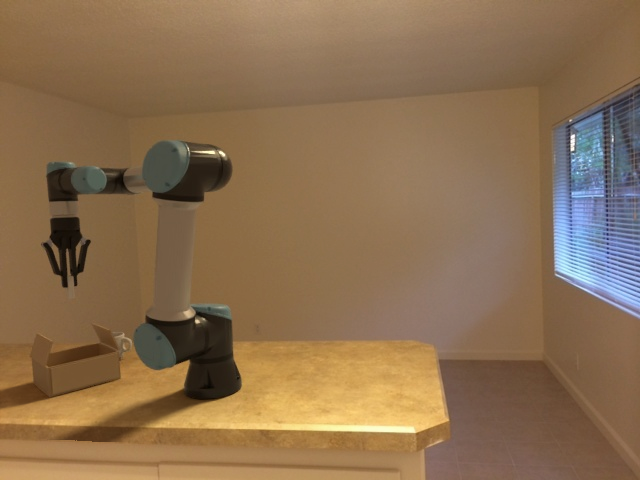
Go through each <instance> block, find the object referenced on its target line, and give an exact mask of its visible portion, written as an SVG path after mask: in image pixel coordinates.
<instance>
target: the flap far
mask: <svg viewBox="0 0 640 480" xmlns="http://www.w3.org/2000/svg"><path fill="white" fill-rule="evenodd" d="M91 326H92V327H93V329H94V331H95V333H96V336H97V338H98V341H99V340H100V342H102V343H104V344H106V345H108V346H110V347H113V348H115V349H117V350H120V348H119V346H118V344H117V342H116V340H115V338H114V336H113V334H112V330H111V328H110V329H109V328H108V327H105V326H102V325H100V324H98V323H96V322H95V323H94V322H92V323H91ZM100 342H99V343H100Z"/></svg>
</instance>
